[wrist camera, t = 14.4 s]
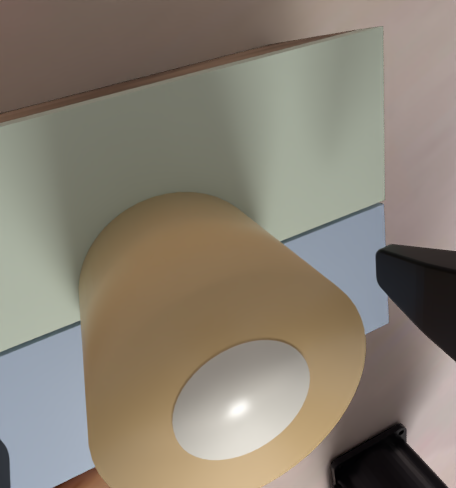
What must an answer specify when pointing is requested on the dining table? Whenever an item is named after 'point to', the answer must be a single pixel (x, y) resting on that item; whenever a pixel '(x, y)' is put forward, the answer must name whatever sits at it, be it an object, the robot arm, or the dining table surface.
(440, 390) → the dining table surface
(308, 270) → the tan rounded cylinder
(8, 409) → the slate flap
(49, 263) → the sage flap
